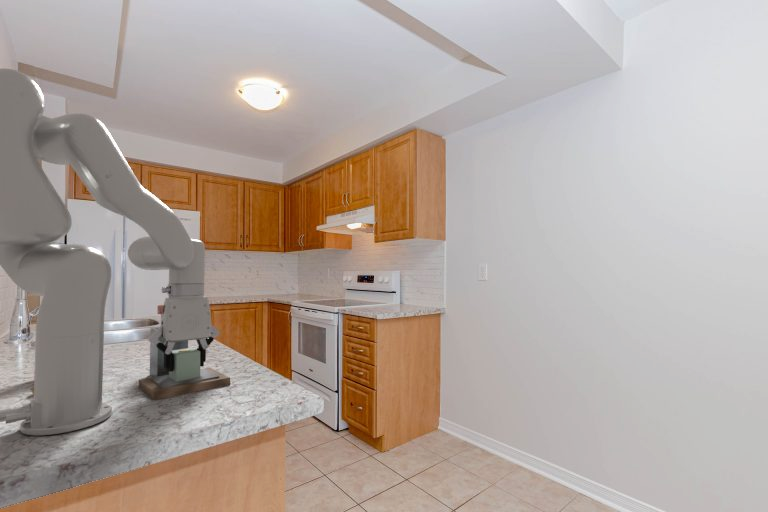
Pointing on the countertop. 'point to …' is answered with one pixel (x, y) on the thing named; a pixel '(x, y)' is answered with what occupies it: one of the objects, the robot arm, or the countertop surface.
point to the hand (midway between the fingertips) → (185, 367)
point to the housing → (185, 364)
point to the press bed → (182, 384)
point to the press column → (161, 356)
